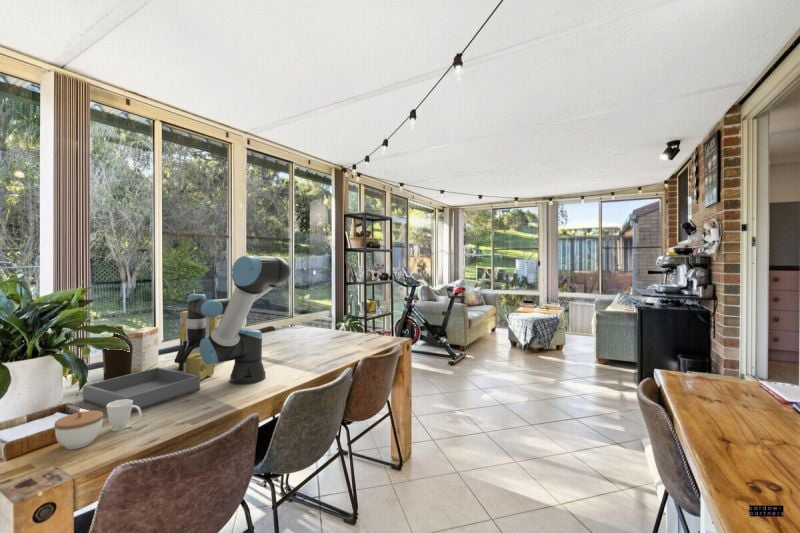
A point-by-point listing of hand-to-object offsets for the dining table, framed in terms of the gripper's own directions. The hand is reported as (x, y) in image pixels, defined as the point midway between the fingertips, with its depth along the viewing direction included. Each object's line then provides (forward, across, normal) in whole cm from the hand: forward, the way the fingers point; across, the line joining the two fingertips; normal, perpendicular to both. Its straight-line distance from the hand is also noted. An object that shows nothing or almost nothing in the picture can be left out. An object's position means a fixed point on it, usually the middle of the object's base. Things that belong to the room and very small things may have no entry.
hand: (196, 373), depth 169 cm
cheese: (+2, 0, 0) cm, 2 cm away
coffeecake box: (+2, +1, -38) cm, 38 cm away
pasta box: (+2, -17, -18) cm, 25 cm away
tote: (+2, +24, +2) cm, 24 cm away
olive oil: (+2, +20, -24) cm, 31 cm away
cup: (+3, +44, +26) cm, 51 cm away
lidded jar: (+3, +56, +26) cm, 62 cm away
